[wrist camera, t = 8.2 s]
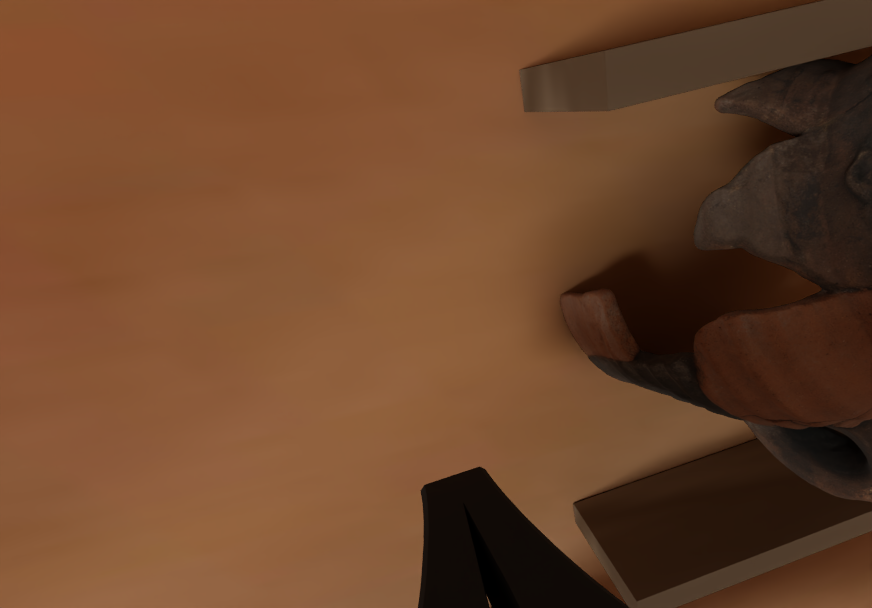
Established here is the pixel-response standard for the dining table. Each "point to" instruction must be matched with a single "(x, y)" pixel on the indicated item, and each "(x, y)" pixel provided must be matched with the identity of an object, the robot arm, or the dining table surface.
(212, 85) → the dining table surface
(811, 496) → the box
